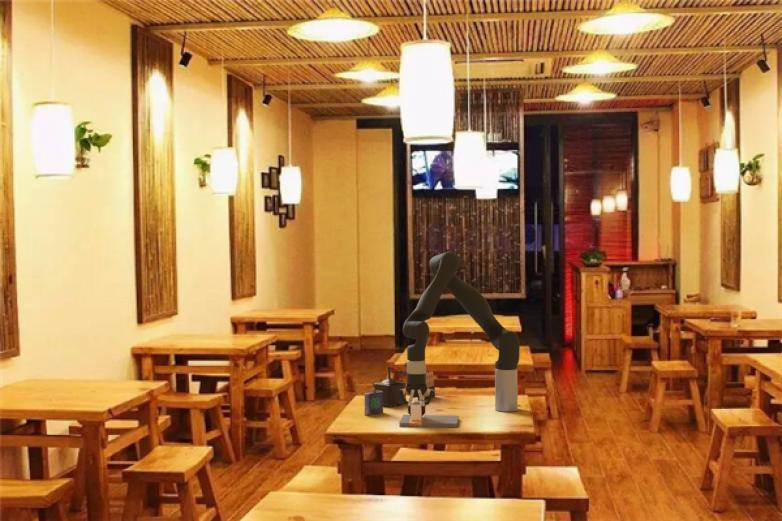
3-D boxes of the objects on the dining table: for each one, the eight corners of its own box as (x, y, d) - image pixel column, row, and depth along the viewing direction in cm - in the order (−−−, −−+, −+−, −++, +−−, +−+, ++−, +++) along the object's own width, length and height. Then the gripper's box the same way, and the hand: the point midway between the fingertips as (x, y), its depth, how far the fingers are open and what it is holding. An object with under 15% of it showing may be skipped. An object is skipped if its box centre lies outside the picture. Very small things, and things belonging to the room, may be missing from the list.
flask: (366, 416, 379) (366, 389, 379) (362, 414, 381) (362, 388, 381) (384, 413, 385) (384, 387, 384) (380, 411, 387) (380, 386, 387)
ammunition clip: (420, 400, 410) (420, 373, 409) (417, 400, 411) (417, 373, 410) (435, 397, 418) (434, 370, 418) (431, 396, 419) (431, 370, 419)
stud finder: (422, 416, 369) (422, 400, 369) (421, 420, 361) (420, 404, 361) (412, 416, 370) (412, 400, 369) (410, 420, 362) (410, 404, 361)
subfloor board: (458, 419, 371) (458, 415, 371) (456, 427, 356) (456, 423, 356) (403, 418, 374) (403, 414, 373) (399, 426, 359) (399, 422, 359)
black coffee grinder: (390, 408, 395) (390, 365, 394) (372, 404, 402) (372, 363, 402) (415, 402, 406) (415, 361, 405) (397, 399, 413) (397, 359, 413)
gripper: (435, 370, 367) (435, 413, 368) (399, 370, 369) (399, 413, 370) (433, 373, 360) (434, 417, 361) (397, 373, 362) (397, 417, 362)
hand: (416, 415), depth 365 cm, fingers closed on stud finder, 4 cm apart
